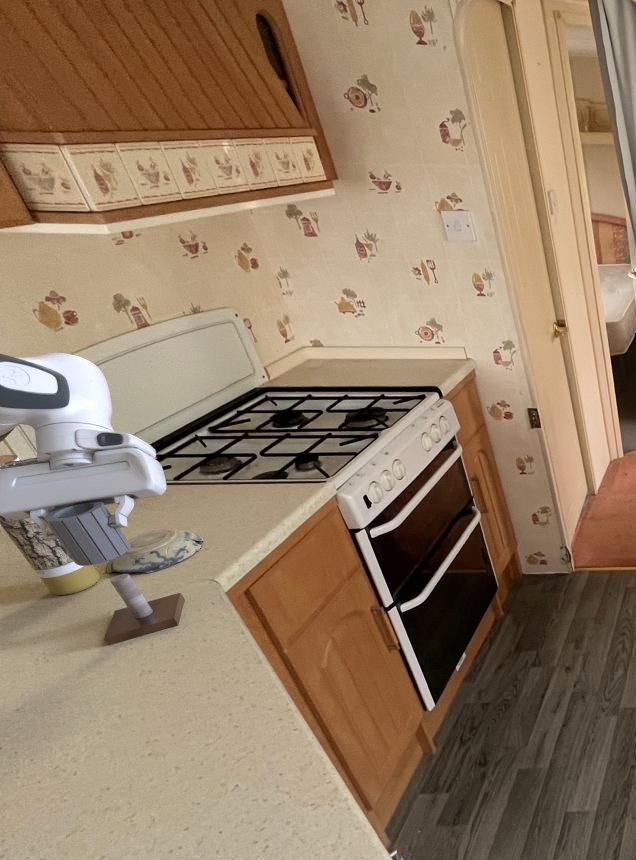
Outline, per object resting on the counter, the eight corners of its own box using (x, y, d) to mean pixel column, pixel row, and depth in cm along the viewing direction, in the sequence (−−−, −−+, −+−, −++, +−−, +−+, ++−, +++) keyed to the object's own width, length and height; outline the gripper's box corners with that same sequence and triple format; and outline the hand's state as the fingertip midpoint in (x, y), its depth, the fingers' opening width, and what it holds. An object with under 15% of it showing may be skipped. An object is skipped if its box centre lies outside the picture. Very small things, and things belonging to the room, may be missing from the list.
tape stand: (108, 645, 109) (76, 600, 104) (119, 617, 116) (89, 574, 111) (178, 625, 113) (150, 581, 109) (185, 599, 120) (158, 556, 115)
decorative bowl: (103, 558, 133) (112, 586, 124) (92, 542, 131) (101, 569, 122) (196, 529, 142) (211, 553, 133) (188, 514, 140) (202, 536, 131)
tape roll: (71, 570, 104) (39, 525, 99) (81, 551, 108) (50, 508, 104) (126, 556, 107) (97, 512, 102) (133, 539, 111) (106, 496, 107)
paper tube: (66, 599, 121) (-27, 474, 108) (44, 593, 123) (-50, 469, 110) (110, 579, 126) (27, 457, 113) (88, 573, 128) (4, 452, 115)
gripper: (-25, 456, 101) (-19, 542, 98) (142, 432, 108) (152, 512, 105) (10, 471, 107) (16, 553, 104) (167, 447, 114) (177, 523, 111)
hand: (86, 532), depth 105 cm, fingers closed on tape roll, 7 cm apart
